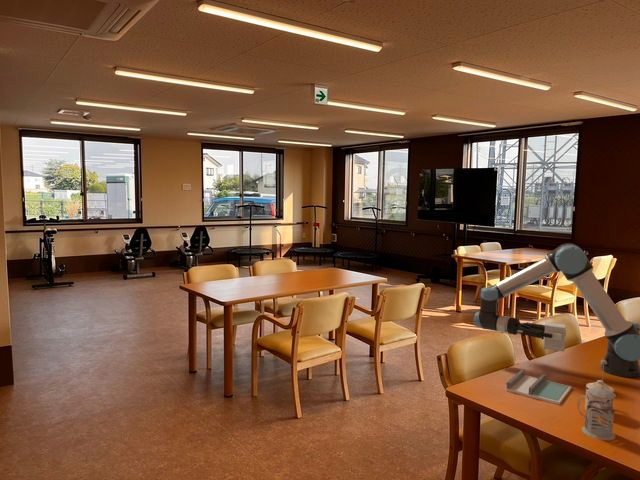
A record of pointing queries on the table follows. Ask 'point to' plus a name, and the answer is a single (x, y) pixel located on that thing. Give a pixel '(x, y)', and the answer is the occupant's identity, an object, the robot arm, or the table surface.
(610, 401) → the teacup with lid
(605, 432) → the french press
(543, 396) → the tray
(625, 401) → the table surface
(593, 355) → the table surface
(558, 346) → the small box
